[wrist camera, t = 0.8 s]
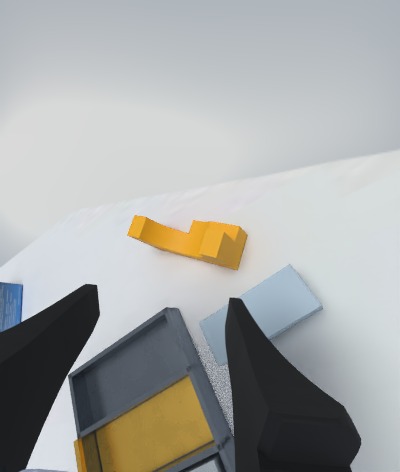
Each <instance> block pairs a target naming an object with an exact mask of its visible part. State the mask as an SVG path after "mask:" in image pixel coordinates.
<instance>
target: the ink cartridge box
mask: <svg viewBox="0 0 400 472" xmlns="http://www.w3.org/2000/svg"><path fill="white" fill-rule="evenodd" d="M21 297H22V285H20V284H11V283H3V282H0V332H2V331H4V330H7V329H9V328H11V327H13V326H15V325H17V324H19V323H21Z"/></svg>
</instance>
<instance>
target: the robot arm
mask: <svg viewBox="0 0 400 472" xmlns="http://www.w3.org/2000/svg"><path fill="white" fill-rule="evenodd" d="M99 316H100V310H99V300H98V290H97V285H91V284H85V285H83V286H81V287H80V288H78V289H77V290H75V291H74V292H72V293H70V294H69V295H67V296H66V297H64V298H63V299H61V300H59V301H58V302H56V303H55V304H53V305H51V306H50V307H48V308H46V309H44V310H43V311H41V312H39V313H38V314H36V315H34V316H32V317H31V318H29V319H27V320H25V321H23V322H21V323H19V324H17V325H15V326H13V327H11V328H9V329H7V330H4V331H2V332H0V472H67V471H56V470H44V469H26V467H27V464H28V461H29V459H30V456H31V454H32V451H33V449H34V447H35V444H36V442H37V439H38V437H39V435H40V432H41V430H42V428H43V425H44V423H45V421H46V418H47V416H48V414H49V412H50V410H51V407H52V405H53V403H54V401H55V399H56V397H57V394H58V392H59V390H60V388H61V386H62V384H63V382H64V380H65V378H66V376H67V374H68V373H69V371H70V369H71V368H72V366H73V364H74V362H75V361H76V359H77V357H78V356H79V354H80V352H81V351H82V349H83V347H84V346H85V344H86V342H87V341H88V339H89V337H90V336H91V334H92V332H93V330H94V328H95V325H96V323H97V321H98V318H99ZM225 346H226V353H227V360H228V367H229V374H230V381H231V389H232V401H233V421H234V445H235V472H352V471H351V468H350V464H351V463H352V461H353V459H354V458H355V456H356V455H357V453H358V451H359V448H360V446H361V438H360V436H359V434H358V432H357V430H356V428H355V425H354V424H353V422H352V420H351V418H350V416H349V414H348V413H347V411H346V409H345V408H344V406H343V405H341V404H340V403H339V402H337V401H336V400H334V399H333V398H332V397H330V396H329V395H328V394H326V393H325V392H323V391H322V390H321V389H319V388H318V387H317V386H316V385H314V384H313V383H312V382H311V381H310V380H308V379H307V378H306V377H305V376H304V375H302V374H301V373H300V372H299V371H298V370H297V369H296V368H295V367H294V366H293V365H292V364H291V363H290V362H288V361H287V360H286V359H285V358H284V356H283V355H282V354H281V353H280V352H279V351H278V350H277V349H276V348H275V347H274V345H273V344H272V343H271V342H270V340H269V339H268V338H267V337H266V335H265V334H264V333H263V331H262V330H261V329H260V327H259V326H258V324H257V323H256V321H255V320H254V318H253V317H252V315H251V314H250V312H249V311H248V309H247V307H246V306H245V304H244V302H243V300H242V299H241V298H230V299H229V305H228V311H227V317H226V322H225ZM25 469H26V470H25Z"/></svg>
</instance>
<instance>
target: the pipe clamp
mask: <svg viewBox="0 0 400 472" xmlns="http://www.w3.org/2000/svg"><path fill="white" fill-rule="evenodd" d="M127 235H128V236H130V237H132V238H135V239H137V240H139V241H141V242H144V243H146V244H148V245H151V246H153V247H155V248H157V249H160V250H164V251H168V252H171V253H175V254H179V255H183V256H186V257H190V258H194V259H197V260H201V261H205V262H208V263H212V264H216V265H219V266H223V267H227V268H231V269H234V270H238V266H239V263H240V259H241V256H242V252H243V249H244V245H245V242H246V239H247V234H246V233H245V232H244V231H243V230H242V228H241V227H240V226H235V225H229V224H223V223H217V222H201V221H194V220H193V222H192V225H191V228H190V231H189V233H185V232H181V231H178V230H175V229H172V228H169V227H166V226H164V225H161V224H159V223H157V222H155V221H153V220H151V219H149V218H147V217H143V216H137V215H135V216H134V218H133V221H132V224H131V226H130V229H129V231H128V234H127Z"/></svg>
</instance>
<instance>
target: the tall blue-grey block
mask: <svg viewBox="0 0 400 472" xmlns="http://www.w3.org/2000/svg"><path fill="white" fill-rule="evenodd" d="M239 298H241V299H242V300H243V302H244V304H245V306H246V307H247V309H248V311H249V312H250V314H251V315H252V317H253V318H254V320H255V321H256V323H257V324H258V326H259V327H260V329H261V330H262V331H263V333H264V334H265V335H266V337H267V338H268V339H269V340H270V339H272V338H274V337H275V336H277V335H279V334H280V333H282V332H284V331H285V330H287V329H289V328H290V327H292V326H294V325H296V324H297V323H299V322H301V321H302V320H304V319H306V318H307V317H309V316H311V315H313V314H314V313H316V312H318V311H319V310H321V309H322V305H321V304H320V303H319V301H318V300H317V299H316V297H315V296H314V295H313V293H312V292H311V291H310V290H309V288H308V287H307V286H306V284H305V283H304V282H303V280H302V279H301V278H300V276H299V275H298V274H297V273H296V271H295V270H294V269H293V267H292V266H291V265H290V264H289V265H288V266H286V267H285V268H283V269H281V270H280V271H278V272H277V273H275V274H274V275H272V276H271V277H269V278H268V279H266V280H265V281H263V282H262V283H260V284H258V285H257V286H255V287H254V288H252V289H251V290H249V291H248V292H246V293H245V294H243V295H242V296H240V297H239ZM228 305H229V304H228ZM228 305H226V306H225V307H223V308H222V309H220V310H219V311H217V312H216V313H214V314H212V315H211V316H209V317H208V318H206V319H205V320H203V321H202V322H200V323H199V325H200V327H201V329H202V331H203V333H204V336H205V338H206V340H207V342H208V344H209V346H210V349H211V351H212V353H213V355H214V357H215V359H216V362H217V364H218V366H222V365H224V364H226V363H228V360H227V353H226V346H225V322H226V317H227V311H228Z"/></svg>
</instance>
